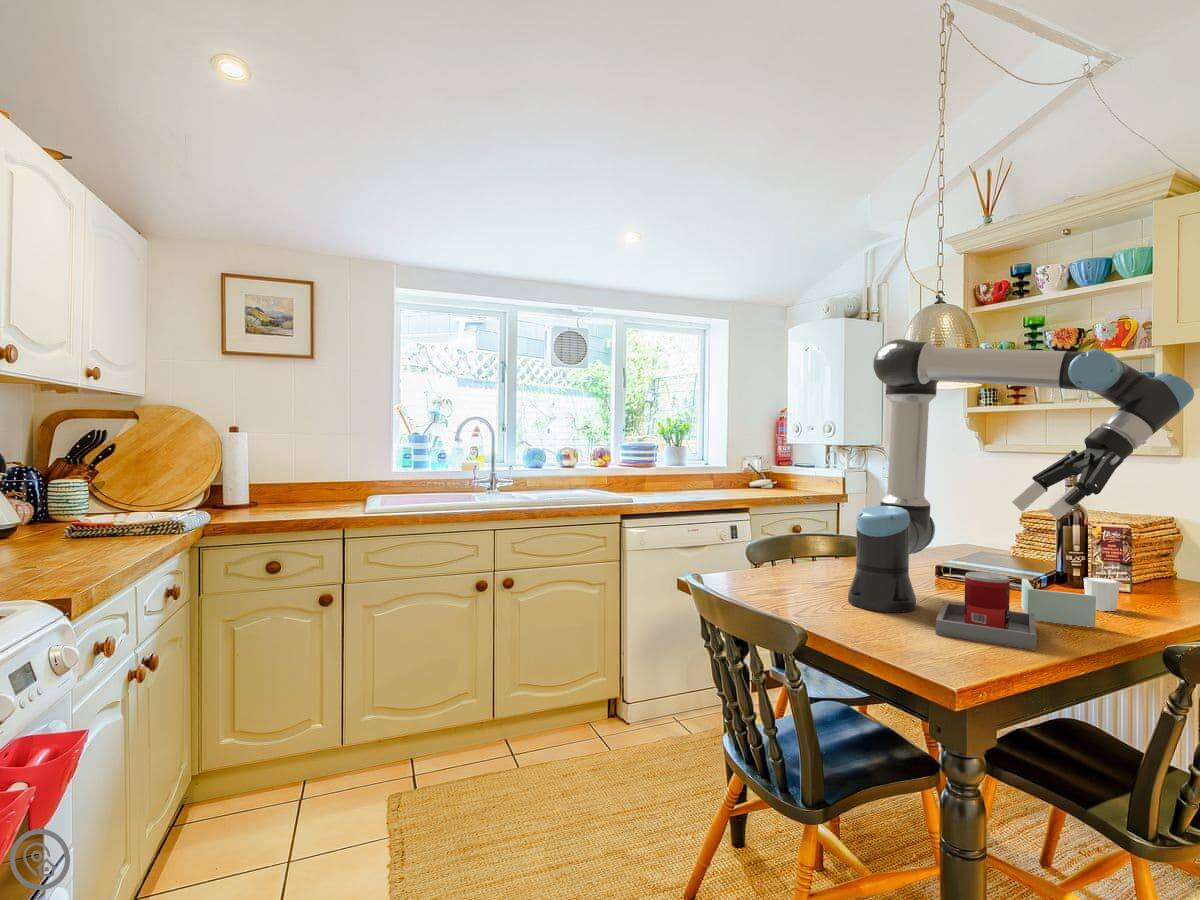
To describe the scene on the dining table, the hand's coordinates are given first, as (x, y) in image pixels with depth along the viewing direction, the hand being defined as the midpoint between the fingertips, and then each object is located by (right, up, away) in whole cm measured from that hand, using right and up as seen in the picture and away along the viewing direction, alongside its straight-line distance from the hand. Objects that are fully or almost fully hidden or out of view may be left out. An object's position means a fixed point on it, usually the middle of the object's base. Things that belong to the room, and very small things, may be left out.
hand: (1033, 510), depth 129 cm
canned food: (-9, -25, +2) cm, 27 cm away
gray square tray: (-9, -26, +2) cm, 27 cm away
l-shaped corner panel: (+14, -26, +12) cm, 32 cm away
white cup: (+29, -26, +19) cm, 43 cm away
